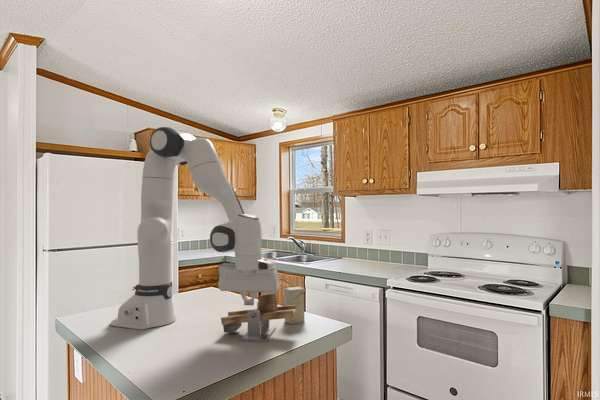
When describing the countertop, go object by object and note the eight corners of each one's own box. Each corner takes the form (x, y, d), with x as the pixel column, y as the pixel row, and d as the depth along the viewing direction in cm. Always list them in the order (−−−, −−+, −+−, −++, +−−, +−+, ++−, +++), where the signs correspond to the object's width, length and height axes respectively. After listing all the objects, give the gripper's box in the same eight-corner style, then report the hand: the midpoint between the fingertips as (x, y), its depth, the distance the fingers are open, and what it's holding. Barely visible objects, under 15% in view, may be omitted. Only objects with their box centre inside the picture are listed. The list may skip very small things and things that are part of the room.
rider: (260, 316, 119) (257, 297, 119) (264, 311, 123) (261, 294, 124) (274, 314, 118) (271, 295, 118) (278, 310, 123) (275, 292, 123)
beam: (222, 333, 119) (219, 314, 119) (231, 325, 127) (228, 307, 128) (294, 326, 115) (291, 307, 115) (299, 318, 123) (296, 300, 124)
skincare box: (290, 324, 131) (289, 290, 131) (284, 321, 135) (283, 288, 135) (305, 321, 134) (304, 288, 134) (298, 318, 138) (298, 286, 138)
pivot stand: (241, 340, 115) (240, 311, 116) (253, 327, 128) (253, 300, 128) (265, 342, 114) (265, 312, 114) (275, 328, 127) (275, 301, 127)
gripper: (215, 264, 121) (215, 306, 121) (275, 264, 117) (276, 308, 117) (222, 261, 127) (222, 301, 127) (280, 261, 124) (280, 303, 123)
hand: (249, 305), depth 122 cm, fingers closed
